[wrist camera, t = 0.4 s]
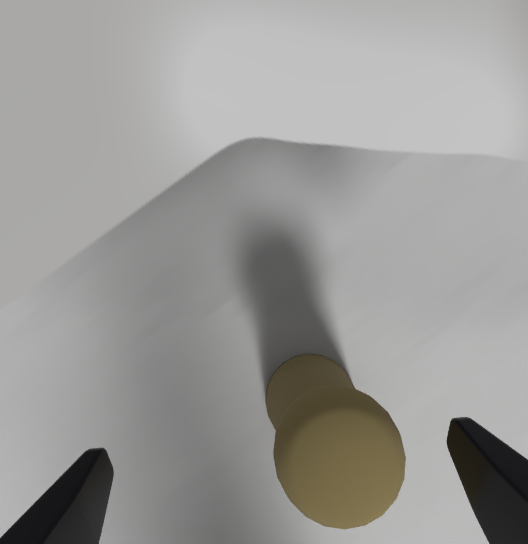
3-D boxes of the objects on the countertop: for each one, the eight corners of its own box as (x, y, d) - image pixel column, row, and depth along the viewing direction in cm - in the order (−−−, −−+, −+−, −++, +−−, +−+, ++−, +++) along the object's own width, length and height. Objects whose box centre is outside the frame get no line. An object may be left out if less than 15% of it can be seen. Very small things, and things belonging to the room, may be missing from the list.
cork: (254, 432, 23) (241, 531, 12) (279, 342, 24) (288, 362, 13) (343, 459, 23) (409, 586, 12) (365, 368, 24) (447, 410, 13)
